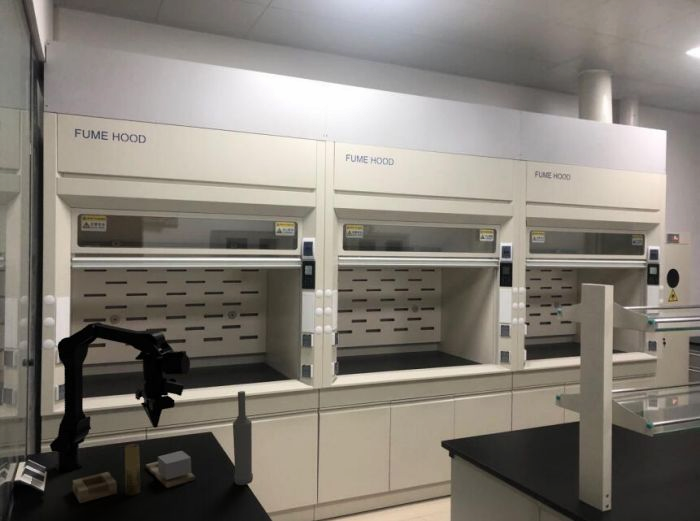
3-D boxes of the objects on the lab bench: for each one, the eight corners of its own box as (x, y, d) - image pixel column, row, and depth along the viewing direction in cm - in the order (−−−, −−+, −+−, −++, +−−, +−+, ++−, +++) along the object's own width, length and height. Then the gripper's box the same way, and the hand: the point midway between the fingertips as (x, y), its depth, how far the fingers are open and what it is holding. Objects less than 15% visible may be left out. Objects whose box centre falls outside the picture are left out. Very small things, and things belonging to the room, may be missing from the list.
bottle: (256, 478, 152) (254, 390, 152) (247, 486, 147) (244, 395, 147) (240, 476, 154) (238, 389, 153) (230, 484, 149) (228, 393, 148)
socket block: (72, 491, 146) (72, 480, 146) (108, 482, 152) (107, 471, 152) (80, 503, 139) (79, 491, 139) (116, 493, 145) (116, 482, 144)
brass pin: (124, 492, 145) (123, 446, 145) (138, 488, 147) (136, 442, 147) (128, 496, 142) (126, 449, 142) (142, 492, 144) (140, 446, 144)
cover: (158, 471, 154) (157, 456, 154) (182, 465, 158) (181, 450, 158) (166, 479, 149) (166, 463, 149) (191, 472, 153) (190, 457, 153)
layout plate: (146, 467, 161) (146, 463, 161) (172, 460, 166) (172, 456, 166) (166, 487, 147) (166, 483, 147) (195, 479, 152) (195, 475, 152)
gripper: (191, 375, 156) (193, 428, 156) (170, 365, 171) (172, 414, 171) (152, 381, 149) (154, 437, 150) (134, 370, 165) (135, 421, 165)
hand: (155, 427), depth 159 cm, fingers closed
